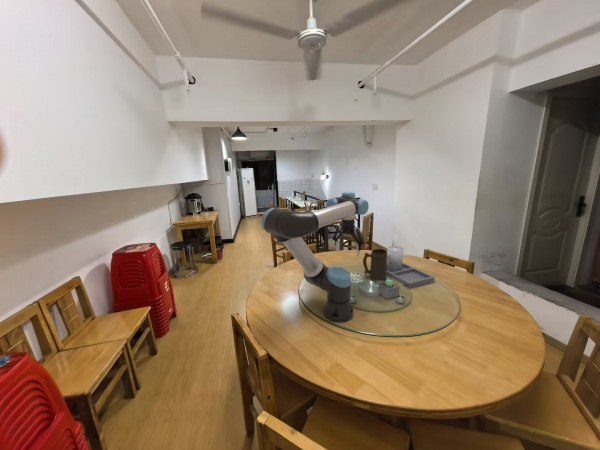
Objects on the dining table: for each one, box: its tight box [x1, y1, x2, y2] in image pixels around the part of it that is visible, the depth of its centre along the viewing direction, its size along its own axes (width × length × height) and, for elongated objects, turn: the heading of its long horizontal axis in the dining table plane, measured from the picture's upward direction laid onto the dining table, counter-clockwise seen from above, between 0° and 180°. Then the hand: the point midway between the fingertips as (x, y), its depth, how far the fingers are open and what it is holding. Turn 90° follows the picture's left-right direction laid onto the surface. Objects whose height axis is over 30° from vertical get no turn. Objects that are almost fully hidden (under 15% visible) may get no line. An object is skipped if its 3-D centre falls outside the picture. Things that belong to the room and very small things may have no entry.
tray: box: [386, 261, 436, 290], centre depth 160 cm, size 32×21×4 cm, turn 21°
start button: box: [385, 278, 394, 288], centre depth 135 cm, size 4×4×6 cm
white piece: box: [386, 245, 404, 272], centre depth 165 cm, size 10×13×16 cm
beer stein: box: [362, 248, 388, 282], centre depth 155 cm, size 15×11×20 cm
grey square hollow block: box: [377, 281, 400, 300], centre depth 136 cm, size 8×8×6 cm
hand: (347, 253), depth 140 cm, fingers open, 13 cm apart
